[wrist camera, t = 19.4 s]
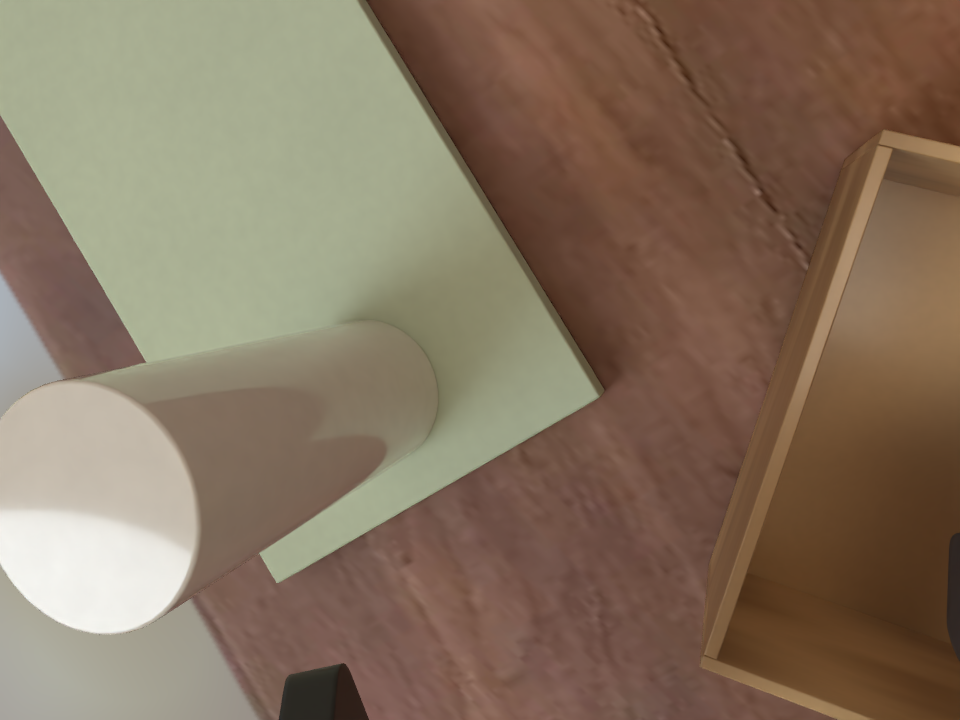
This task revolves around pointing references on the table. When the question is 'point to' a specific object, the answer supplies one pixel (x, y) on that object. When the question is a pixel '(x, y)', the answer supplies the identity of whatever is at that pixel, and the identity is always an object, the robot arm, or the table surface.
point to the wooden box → (856, 460)
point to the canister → (197, 464)
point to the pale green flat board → (286, 212)
